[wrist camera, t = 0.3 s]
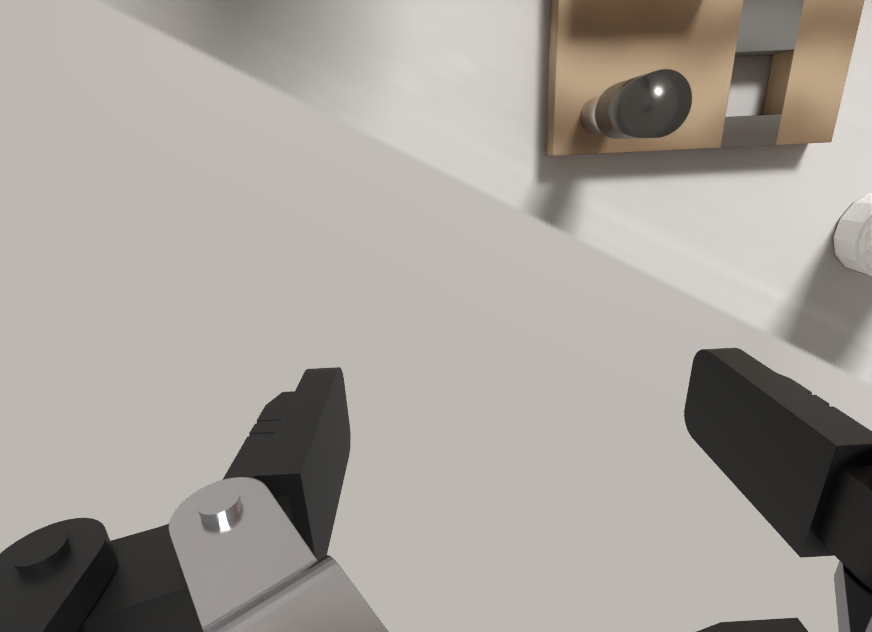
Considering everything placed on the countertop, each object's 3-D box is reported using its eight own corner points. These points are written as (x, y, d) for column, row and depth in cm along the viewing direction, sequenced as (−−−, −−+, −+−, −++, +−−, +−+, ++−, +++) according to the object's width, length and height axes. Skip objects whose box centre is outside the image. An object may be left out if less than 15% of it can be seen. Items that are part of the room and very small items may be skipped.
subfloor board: (555, -114, 29) (569, -142, 26) (867, -126, 29) (915, -155, 27) (545, 155, 35) (556, 155, 32) (809, 142, 35) (843, 142, 32)
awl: (576, 90, 31) (632, 70, 23) (622, 88, 32) (696, 67, 23) (573, 141, 33) (626, 139, 24) (618, 138, 33) (687, 136, 24)
